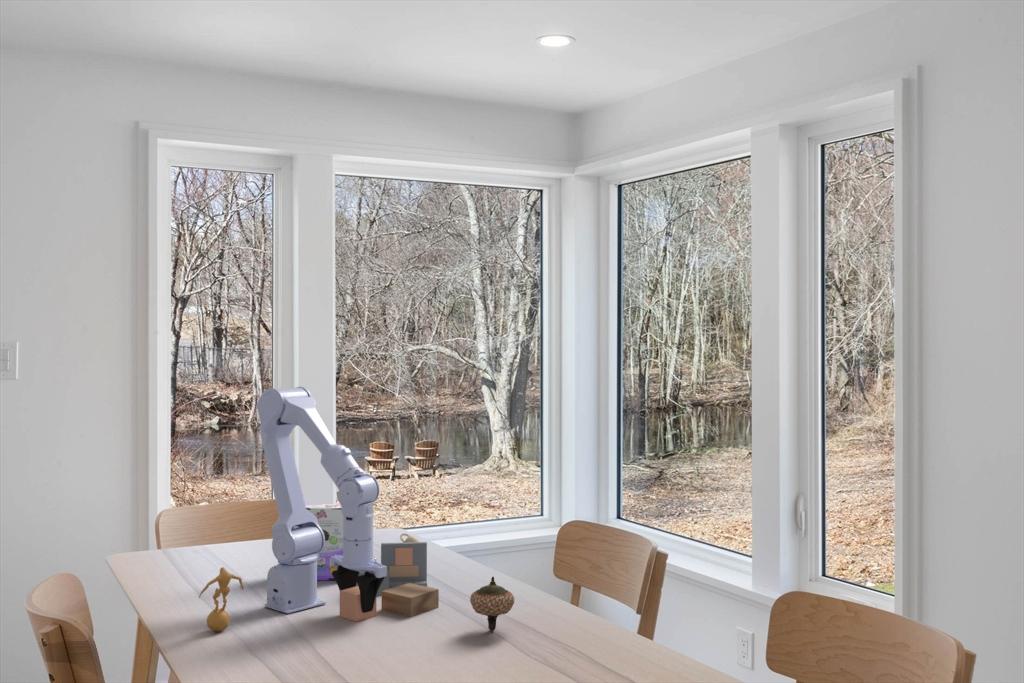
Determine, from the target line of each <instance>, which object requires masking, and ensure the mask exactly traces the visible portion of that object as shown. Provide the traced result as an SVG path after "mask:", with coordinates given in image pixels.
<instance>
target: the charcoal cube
mask: <svg viewBox="0 0 1024 683" xmlns="http://www.w3.org/2000/svg"><path fill="white" fill-rule="evenodd" d="M361 575H364V573H362V572H359V575H358V576H361ZM356 586H358V583H356ZM387 589H390V588H389V571H388V570H387V576H385V577H384V580H383V581H382V583H381V585H380V587H379V589H378V592H377V595H376V598H378V597H382V591H384V590H387Z"/></svg>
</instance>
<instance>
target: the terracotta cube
mask: <svg viewBox="0 0 1024 683" xmlns="http://www.w3.org/2000/svg"><path fill="white" fill-rule="evenodd" d="M376 616H377V597H376V598H375V602H374V606H373V610H372V611H369V612H366V613H363V612H362V608H361V597H360V590H359V586H356V587H352V588H348V589H344V590H339V617H340V618H344V619H346V620H349V621H353V622H359V621H363V620H366V619H369V618H373V617H376Z"/></svg>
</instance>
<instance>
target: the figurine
mask: <svg viewBox="0 0 1024 683" xmlns="http://www.w3.org/2000/svg"><path fill="white" fill-rule="evenodd" d="M232 579H233V580H238V582H239V585H240V586H239V588H240V589H244V585H243V584H244V583H243V581H242V580H243V579H242V577H241V576H239V575H235V574H233V573H230V572H228V571H227V570H226V568H225V567H221V568H220V569H219V575H217V576H216V577H214V579H211V581H209V582H208V583H207V584H206V585H205V587H204V588H202V590H201V591H200V593H199V597H198V599H200V598H201V596H202V595H203V593H204V592H205V591H206V590H207V589H208V588H209V586H211V585H213V584H214V583H216V582H217V584H218V588H216V589H214V590H215V591H214V594H213V595H212V599H213V602H214V605H215V607H214V609H213V610H212V611H211V612H209V614H207V615H208V616H207V618H206V625H207V628H208V629H209V630H211V631H212V632H215V633H216V632H217V633H218V632H222V631H224V630H225V629H226V628H227V627H228V626H229V624H230V615H229V613H228V612H227V611H226V610H225V609H226V606H227V602H228V599H227V598H226V597H227V596H228V595H229V593H230V591H231V588H230V586H229V584H230V582H231V580H232ZM220 596H222V602H223V605H222V607H220V608H219V603H220V602H219V601H218V600H217V599H218V598H219V597H220Z"/></svg>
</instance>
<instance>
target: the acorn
mask: <svg viewBox="0 0 1024 683" xmlns="http://www.w3.org/2000/svg"><path fill="white" fill-rule="evenodd" d="M469 598H470V600H469V601H470V604H471V607H472V609H473V610H474V612H475V613H476V614H479V615H482V616H485V617H486V616H487V618H486V620H487V626H488V627H487V628H488V630H489V631H490V632H494V631H495V630H496V628H497V618H498V617H499V616H501V615H505V614H508V613H509V612H510V611H511V610H512V608H513V606H514V604H515V596H514V595H513V593H512V592H511V591H509V590H508V589H505V588H504V587H503V586H501V585H498V584H497V583H496V581H495V577H494V576H491V579H490V582H489V584H488V585H485V586H482V587H480V588H479V589H477V590H475V591H473V592H472V593H471V594H470V597H469Z"/></svg>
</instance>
